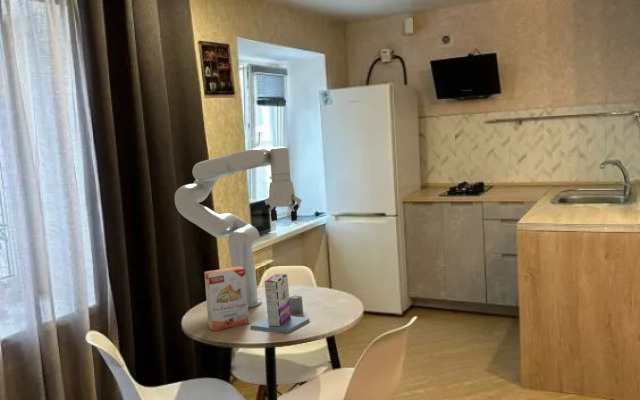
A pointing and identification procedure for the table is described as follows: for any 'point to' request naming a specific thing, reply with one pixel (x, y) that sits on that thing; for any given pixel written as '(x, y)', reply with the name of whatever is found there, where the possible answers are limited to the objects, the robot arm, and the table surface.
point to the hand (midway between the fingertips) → (284, 220)
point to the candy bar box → (277, 299)
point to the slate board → (285, 328)
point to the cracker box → (226, 298)
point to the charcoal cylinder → (296, 305)
